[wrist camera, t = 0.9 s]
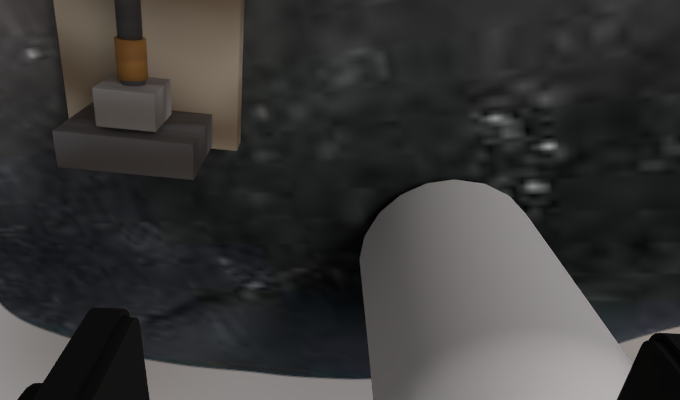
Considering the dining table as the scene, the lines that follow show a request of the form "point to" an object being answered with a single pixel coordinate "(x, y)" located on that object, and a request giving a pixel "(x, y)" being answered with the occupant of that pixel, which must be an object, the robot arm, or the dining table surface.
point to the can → (477, 305)
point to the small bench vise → (149, 84)
